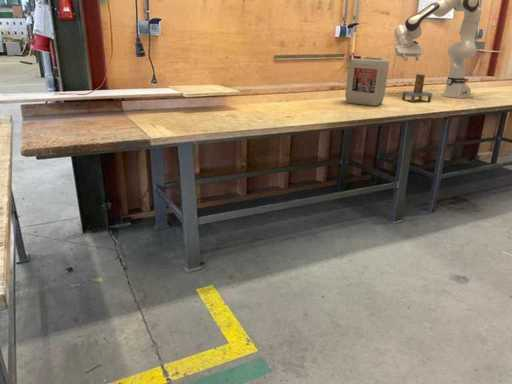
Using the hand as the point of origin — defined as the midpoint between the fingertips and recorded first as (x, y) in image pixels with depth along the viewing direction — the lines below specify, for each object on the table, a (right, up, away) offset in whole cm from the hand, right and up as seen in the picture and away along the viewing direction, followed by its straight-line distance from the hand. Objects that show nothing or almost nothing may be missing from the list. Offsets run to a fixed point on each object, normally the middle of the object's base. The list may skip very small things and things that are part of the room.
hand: (412, 60), depth 297 cm
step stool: (+3, -29, 0) cm, 29 cm away
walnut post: (+3, -23, -3) cm, 24 cm away
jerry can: (-38, -34, -15) cm, 54 cm away
